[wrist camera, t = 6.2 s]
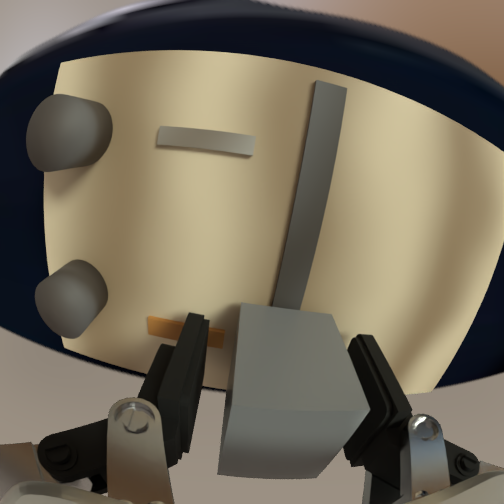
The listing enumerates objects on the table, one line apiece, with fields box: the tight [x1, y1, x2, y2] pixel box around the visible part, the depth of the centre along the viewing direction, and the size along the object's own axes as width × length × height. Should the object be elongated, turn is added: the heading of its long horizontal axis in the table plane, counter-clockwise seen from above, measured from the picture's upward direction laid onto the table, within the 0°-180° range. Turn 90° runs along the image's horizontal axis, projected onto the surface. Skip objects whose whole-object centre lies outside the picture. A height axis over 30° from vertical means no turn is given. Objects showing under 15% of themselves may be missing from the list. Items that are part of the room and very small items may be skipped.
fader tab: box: [217, 302, 370, 479], centre depth 8 cm, size 3×4×4 cm
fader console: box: [26, 50, 504, 395], centre depth 10 cm, size 20×13×6 cm, turn 81°
